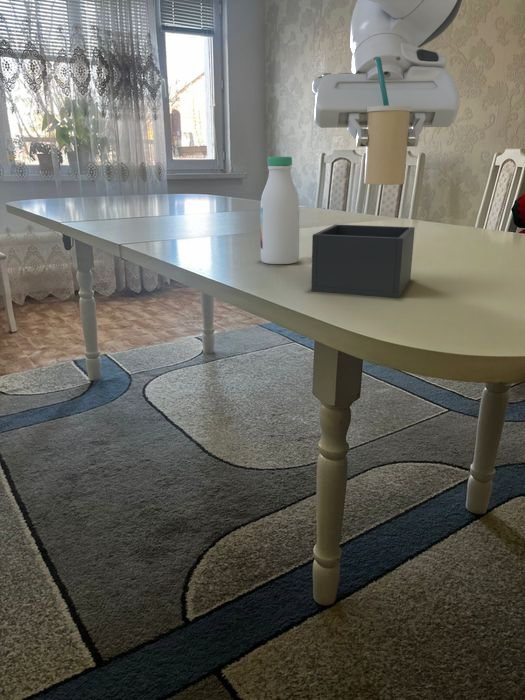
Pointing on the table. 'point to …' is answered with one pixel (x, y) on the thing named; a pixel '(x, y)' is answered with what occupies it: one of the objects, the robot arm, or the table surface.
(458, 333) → the table surface
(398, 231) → the bin
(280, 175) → the milk bottle
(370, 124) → the takeaway cup
